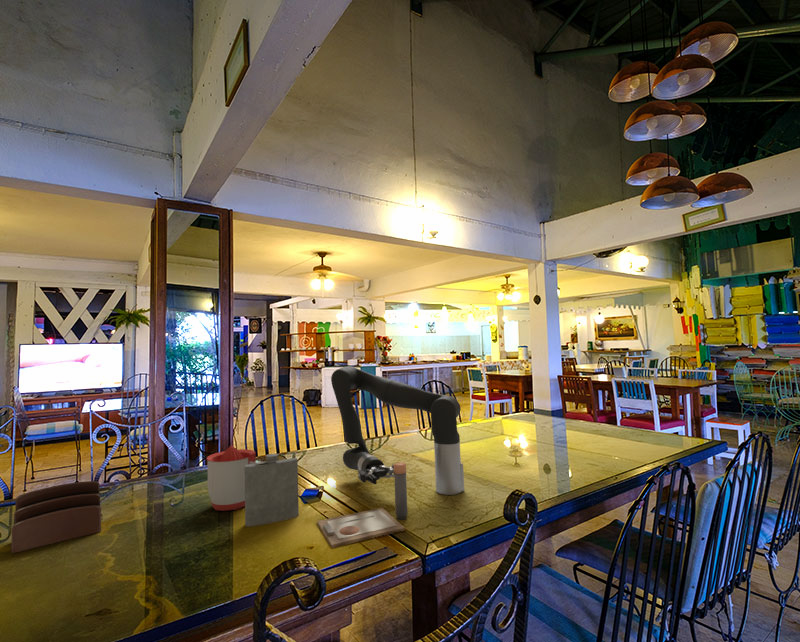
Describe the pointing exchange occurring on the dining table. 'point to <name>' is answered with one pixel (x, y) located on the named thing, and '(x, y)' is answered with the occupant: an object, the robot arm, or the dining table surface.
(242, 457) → the citrus juicer
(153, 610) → the dining table surface
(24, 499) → the letter holder
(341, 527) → the clipboard
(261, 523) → the hip flask
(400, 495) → the marker
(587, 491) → the dining table surface
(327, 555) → the dining table surface
